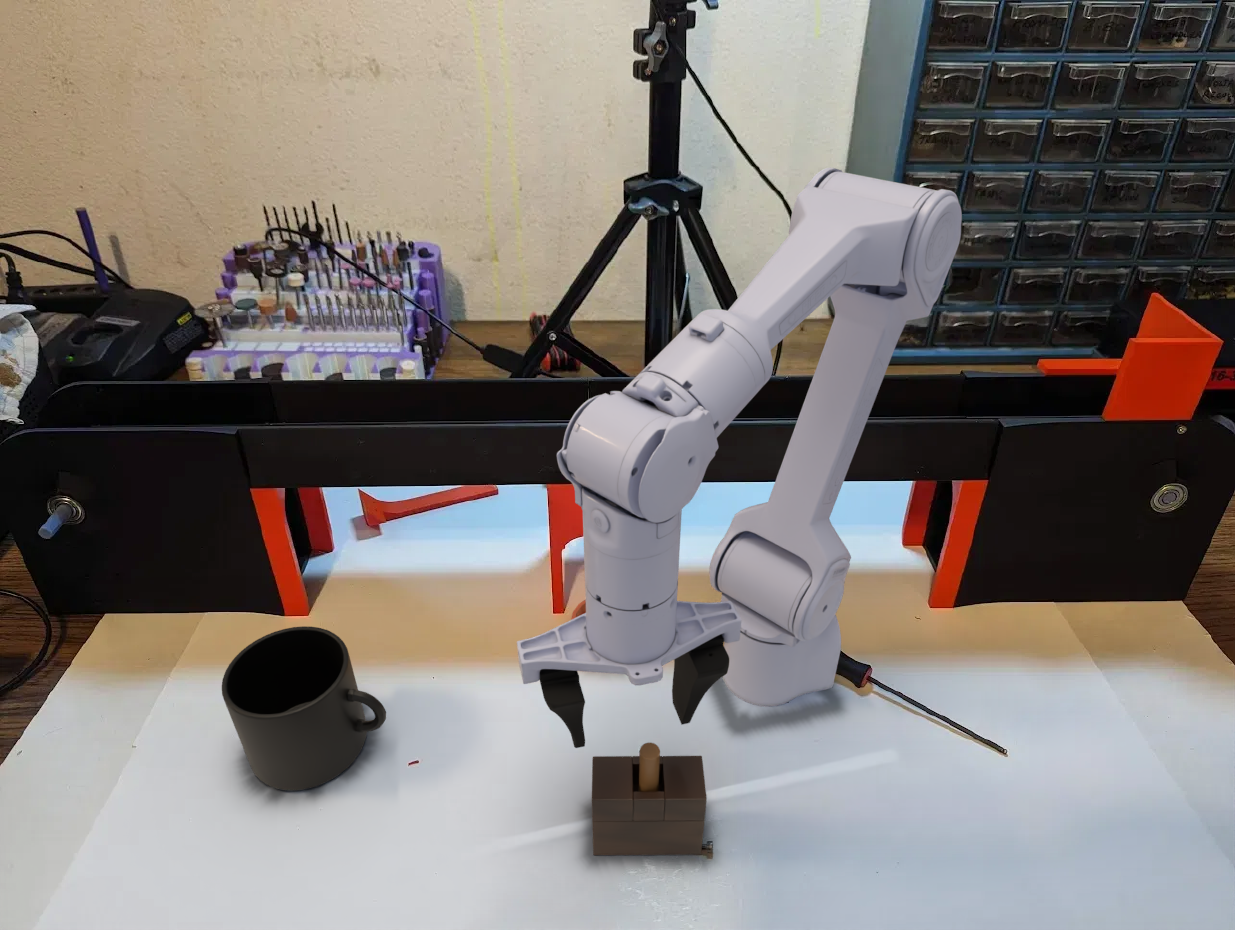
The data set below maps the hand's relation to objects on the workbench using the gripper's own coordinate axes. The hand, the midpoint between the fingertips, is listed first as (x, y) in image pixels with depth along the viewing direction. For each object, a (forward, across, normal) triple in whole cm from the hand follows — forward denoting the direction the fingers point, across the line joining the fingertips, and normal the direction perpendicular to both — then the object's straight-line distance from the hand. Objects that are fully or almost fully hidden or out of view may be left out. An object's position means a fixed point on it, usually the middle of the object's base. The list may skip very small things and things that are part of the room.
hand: (629, 724), depth 57 cm
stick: (+6, +1, -2) cm, 7 cm away
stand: (+10, +1, -2) cm, 11 cm away
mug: (+11, -23, +12) cm, 28 cm away
